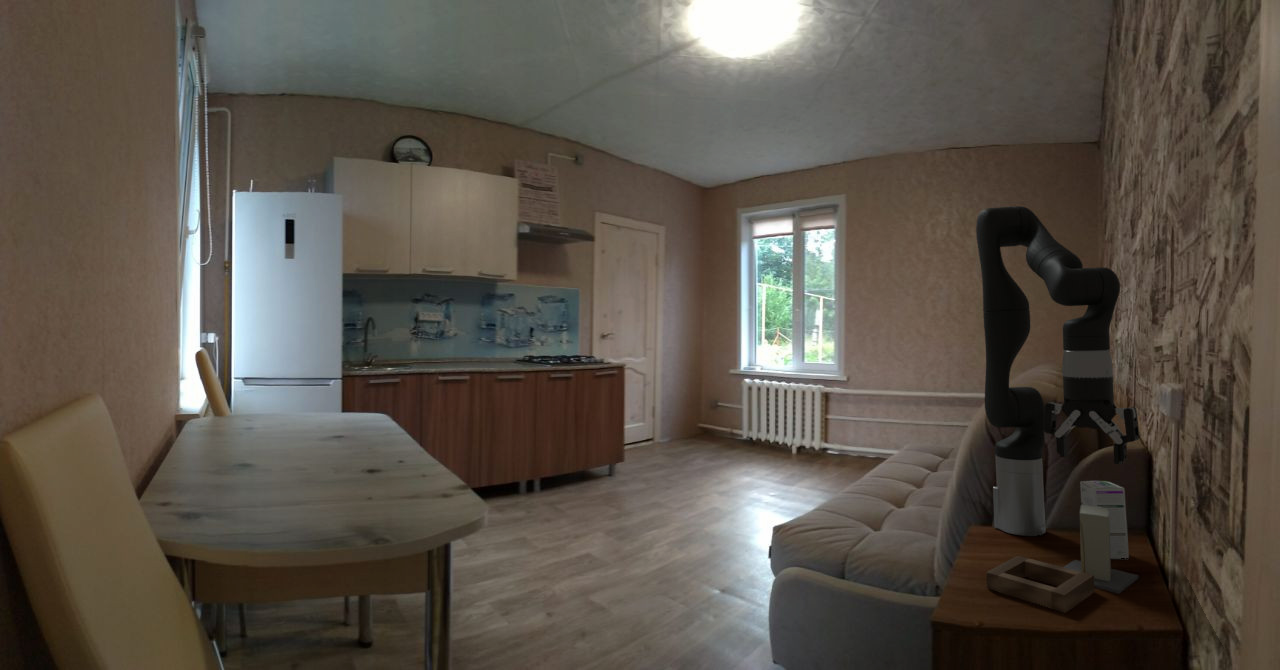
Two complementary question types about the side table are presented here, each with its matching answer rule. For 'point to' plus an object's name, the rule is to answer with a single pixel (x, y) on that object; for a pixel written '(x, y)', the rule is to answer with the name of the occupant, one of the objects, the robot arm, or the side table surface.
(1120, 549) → the syrup box
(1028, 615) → the side table surface
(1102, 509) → the skincare box
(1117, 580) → the rubber mat
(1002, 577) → the walnut collar
